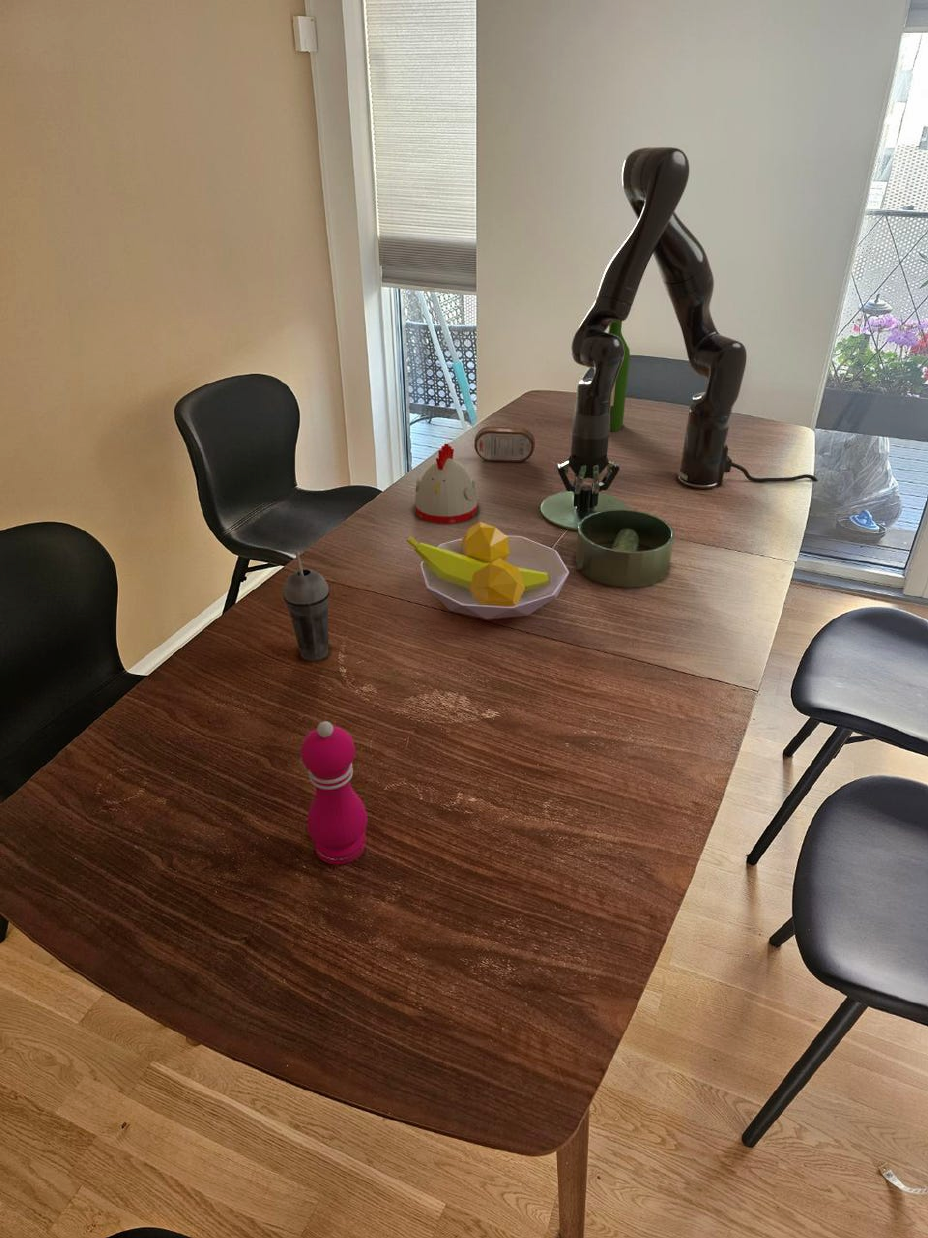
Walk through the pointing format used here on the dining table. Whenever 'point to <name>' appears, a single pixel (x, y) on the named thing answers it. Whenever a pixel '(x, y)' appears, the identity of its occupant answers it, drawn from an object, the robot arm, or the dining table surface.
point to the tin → (504, 444)
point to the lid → (566, 515)
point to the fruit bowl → (491, 573)
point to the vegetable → (626, 541)
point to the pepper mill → (333, 795)
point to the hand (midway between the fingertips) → (584, 507)
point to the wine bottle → (619, 383)
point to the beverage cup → (308, 611)
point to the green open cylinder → (623, 564)
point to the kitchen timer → (445, 491)
